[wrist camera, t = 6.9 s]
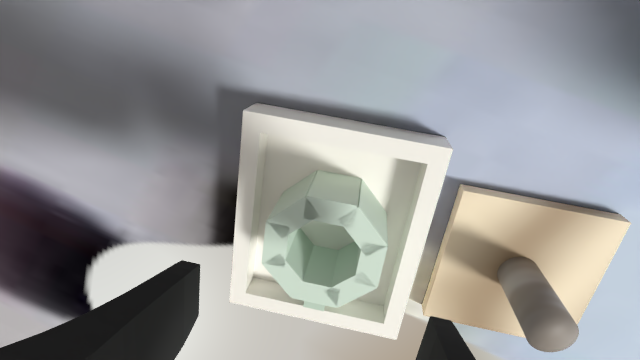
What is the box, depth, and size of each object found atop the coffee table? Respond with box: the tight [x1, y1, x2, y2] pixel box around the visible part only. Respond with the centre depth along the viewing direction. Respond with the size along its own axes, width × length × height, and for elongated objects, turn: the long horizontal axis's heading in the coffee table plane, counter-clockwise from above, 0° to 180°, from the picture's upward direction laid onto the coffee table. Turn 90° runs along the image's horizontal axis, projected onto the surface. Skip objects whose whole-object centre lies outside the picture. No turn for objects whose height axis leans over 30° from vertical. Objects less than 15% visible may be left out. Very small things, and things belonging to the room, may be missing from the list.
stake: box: [422, 184, 631, 352], centre depth 16 cm, size 7×7×5 cm
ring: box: [261, 170, 388, 311], centre depth 17 cm, size 5×6×3 cm
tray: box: [229, 103, 453, 340], centre depth 18 cm, size 9×10×2 cm
